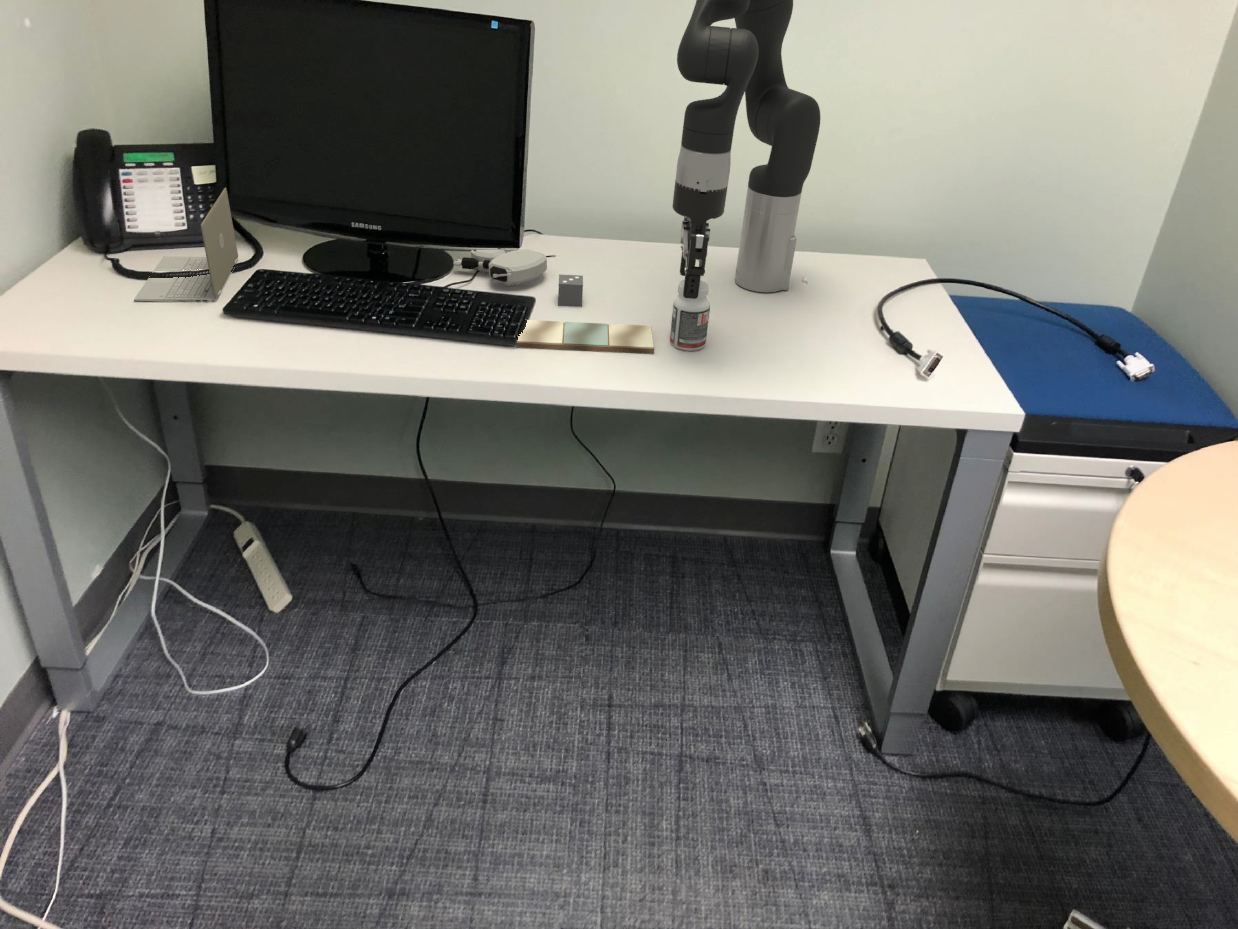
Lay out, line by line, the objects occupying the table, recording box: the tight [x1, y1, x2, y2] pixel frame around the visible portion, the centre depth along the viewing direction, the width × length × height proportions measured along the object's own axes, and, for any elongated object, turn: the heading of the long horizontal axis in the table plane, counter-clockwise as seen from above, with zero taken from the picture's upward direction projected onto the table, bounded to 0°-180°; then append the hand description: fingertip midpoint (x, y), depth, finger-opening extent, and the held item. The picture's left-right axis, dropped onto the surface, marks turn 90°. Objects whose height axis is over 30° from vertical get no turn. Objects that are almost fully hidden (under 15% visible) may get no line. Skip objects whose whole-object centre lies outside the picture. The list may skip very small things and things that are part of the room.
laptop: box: [133, 187, 239, 303], centre depth 152 cm, size 18×12×13 cm
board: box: [516, 319, 655, 355], centre depth 146 cm, size 21×8×1 cm, turn 92°
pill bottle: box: [669, 279, 711, 352], centre depth 144 cm, size 6×6×10 cm
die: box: [557, 274, 584, 308], centre depth 157 cm, size 4×4×4 cm
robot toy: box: [453, 248, 557, 287], centre depth 164 cm, size 12×4×15 cm
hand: (688, 286), depth 142 cm, fingers open, 8 cm apart
